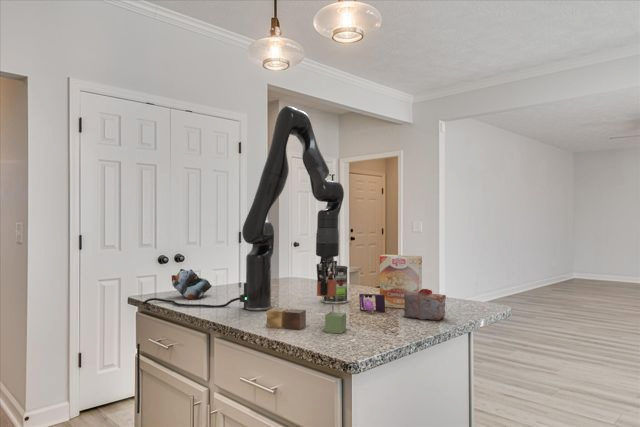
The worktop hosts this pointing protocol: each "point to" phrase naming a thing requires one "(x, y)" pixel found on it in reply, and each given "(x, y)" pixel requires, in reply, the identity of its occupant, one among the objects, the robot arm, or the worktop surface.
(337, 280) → the coffee can
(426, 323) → the worktop surface
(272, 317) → the maple block
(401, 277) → the coffeecake box
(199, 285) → the blue-grey lumpy piece
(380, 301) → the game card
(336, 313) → the sage block
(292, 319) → the walnut block
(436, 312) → the food item
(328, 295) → the terracotta red block
